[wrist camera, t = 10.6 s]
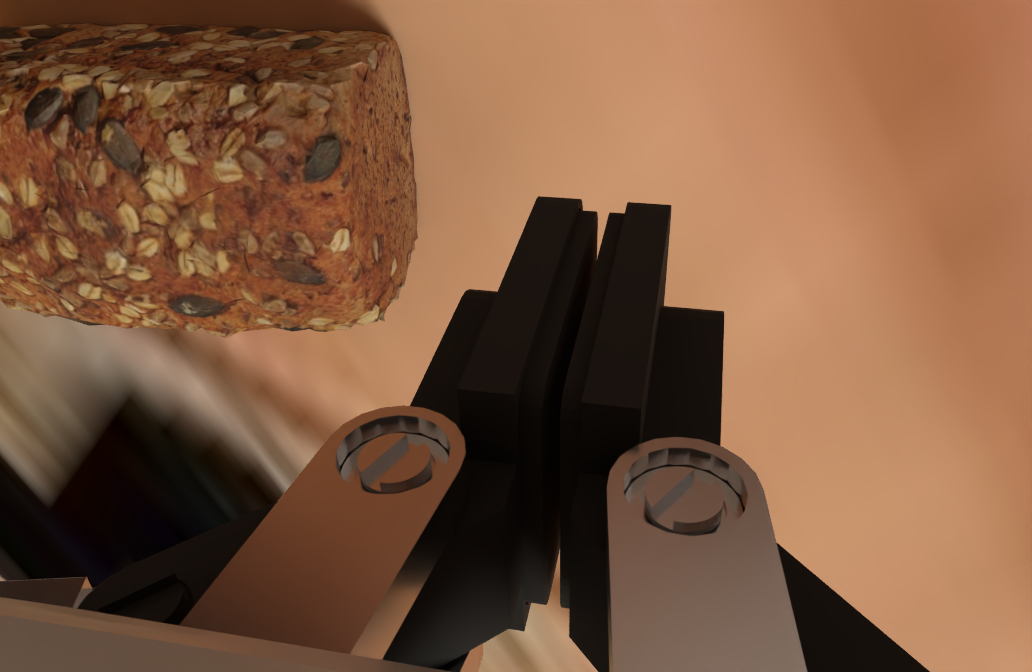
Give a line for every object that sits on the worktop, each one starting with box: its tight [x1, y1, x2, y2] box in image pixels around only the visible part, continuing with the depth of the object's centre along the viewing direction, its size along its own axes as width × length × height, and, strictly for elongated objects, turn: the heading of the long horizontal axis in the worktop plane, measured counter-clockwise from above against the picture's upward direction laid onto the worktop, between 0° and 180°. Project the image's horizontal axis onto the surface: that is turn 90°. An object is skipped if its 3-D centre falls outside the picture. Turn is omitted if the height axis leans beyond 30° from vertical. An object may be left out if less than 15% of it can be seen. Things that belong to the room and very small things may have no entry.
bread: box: [0, 23, 418, 338], centre depth 35 cm, size 19×11×10 cm, turn 91°
